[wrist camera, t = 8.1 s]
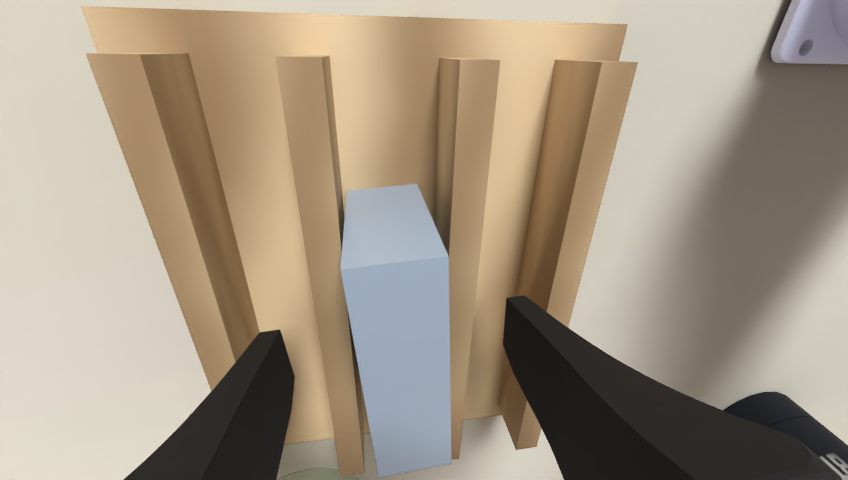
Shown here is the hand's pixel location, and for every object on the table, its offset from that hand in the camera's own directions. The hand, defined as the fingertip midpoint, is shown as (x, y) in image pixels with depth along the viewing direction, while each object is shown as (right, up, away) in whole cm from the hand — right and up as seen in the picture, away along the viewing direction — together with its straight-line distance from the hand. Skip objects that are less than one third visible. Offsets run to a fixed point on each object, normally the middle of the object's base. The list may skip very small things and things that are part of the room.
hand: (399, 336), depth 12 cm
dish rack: (-1, +2, +4) cm, 4 cm away
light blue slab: (0, +1, +3) cm, 3 cm away
